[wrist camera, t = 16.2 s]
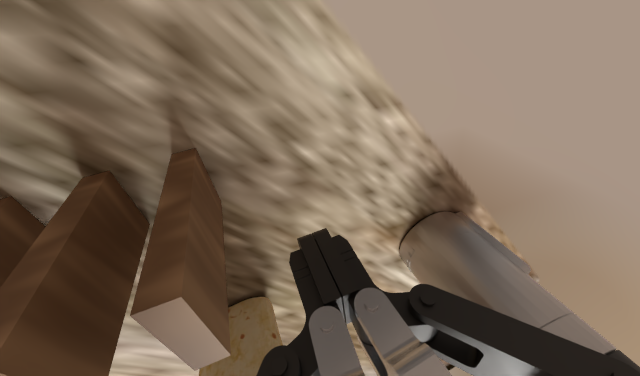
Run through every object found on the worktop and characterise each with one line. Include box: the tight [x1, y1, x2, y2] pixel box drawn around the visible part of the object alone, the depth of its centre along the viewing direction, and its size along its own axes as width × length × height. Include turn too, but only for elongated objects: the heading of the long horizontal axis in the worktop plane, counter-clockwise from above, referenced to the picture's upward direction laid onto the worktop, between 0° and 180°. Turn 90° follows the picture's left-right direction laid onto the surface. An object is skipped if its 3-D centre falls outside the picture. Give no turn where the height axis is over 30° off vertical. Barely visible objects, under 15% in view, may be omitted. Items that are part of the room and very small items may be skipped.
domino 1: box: [0, 171, 150, 376], centre depth 14 cm, size 2×5×12 cm, turn 8°
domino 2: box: [130, 148, 231, 370], centre depth 15 cm, size 2×5×12 cm, turn 8°
